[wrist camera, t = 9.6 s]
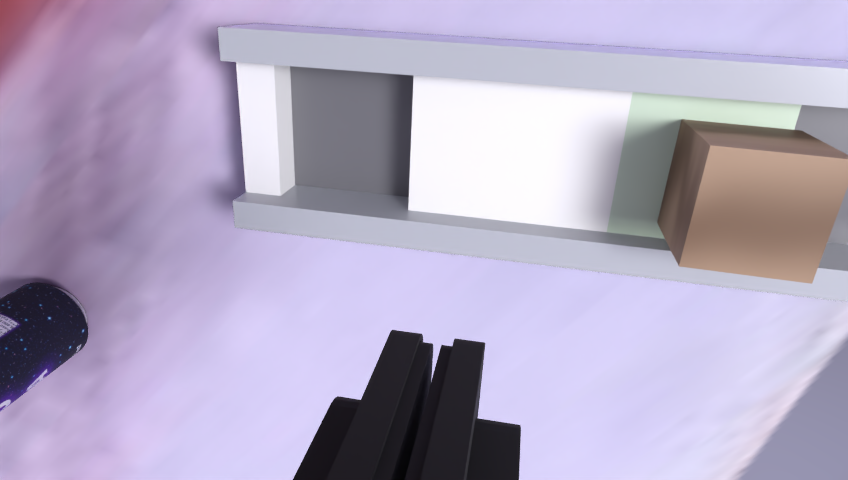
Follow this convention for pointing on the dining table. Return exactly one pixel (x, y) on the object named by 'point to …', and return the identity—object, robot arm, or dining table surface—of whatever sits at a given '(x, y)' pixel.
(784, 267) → the walnut block
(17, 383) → the beverage can
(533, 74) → the trap track
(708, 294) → the dining table surface
